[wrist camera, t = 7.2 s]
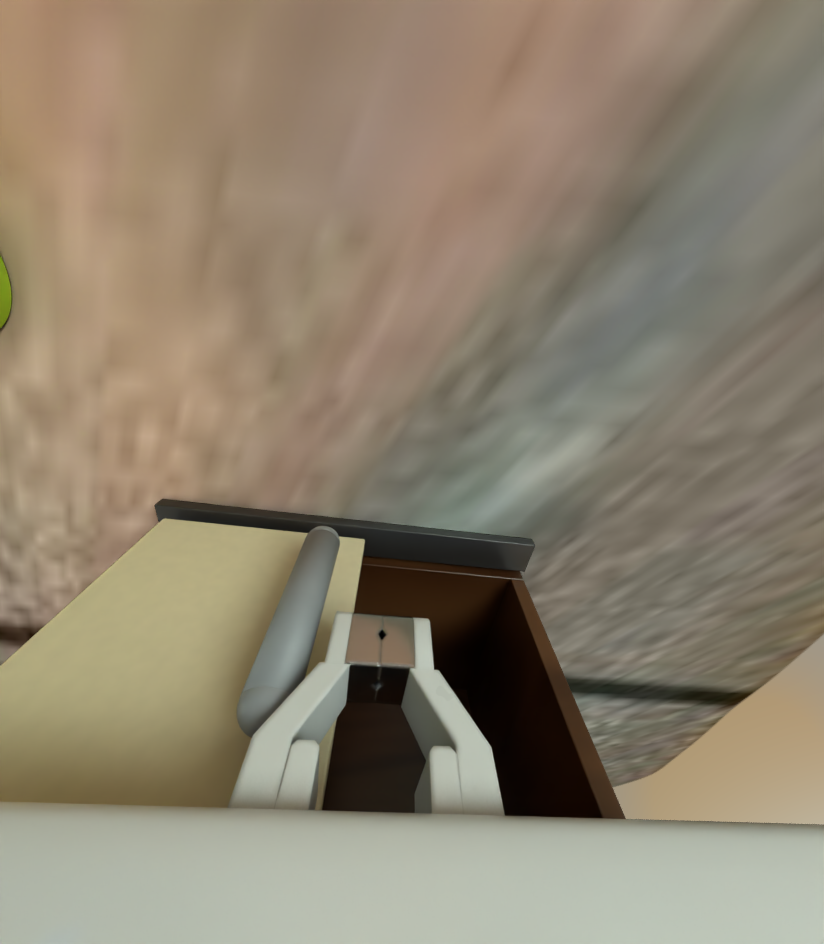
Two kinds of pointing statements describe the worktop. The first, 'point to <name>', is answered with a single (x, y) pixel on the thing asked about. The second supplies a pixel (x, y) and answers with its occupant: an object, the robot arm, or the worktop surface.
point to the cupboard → (453, 668)
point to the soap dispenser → (4, 294)
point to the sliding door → (172, 666)
